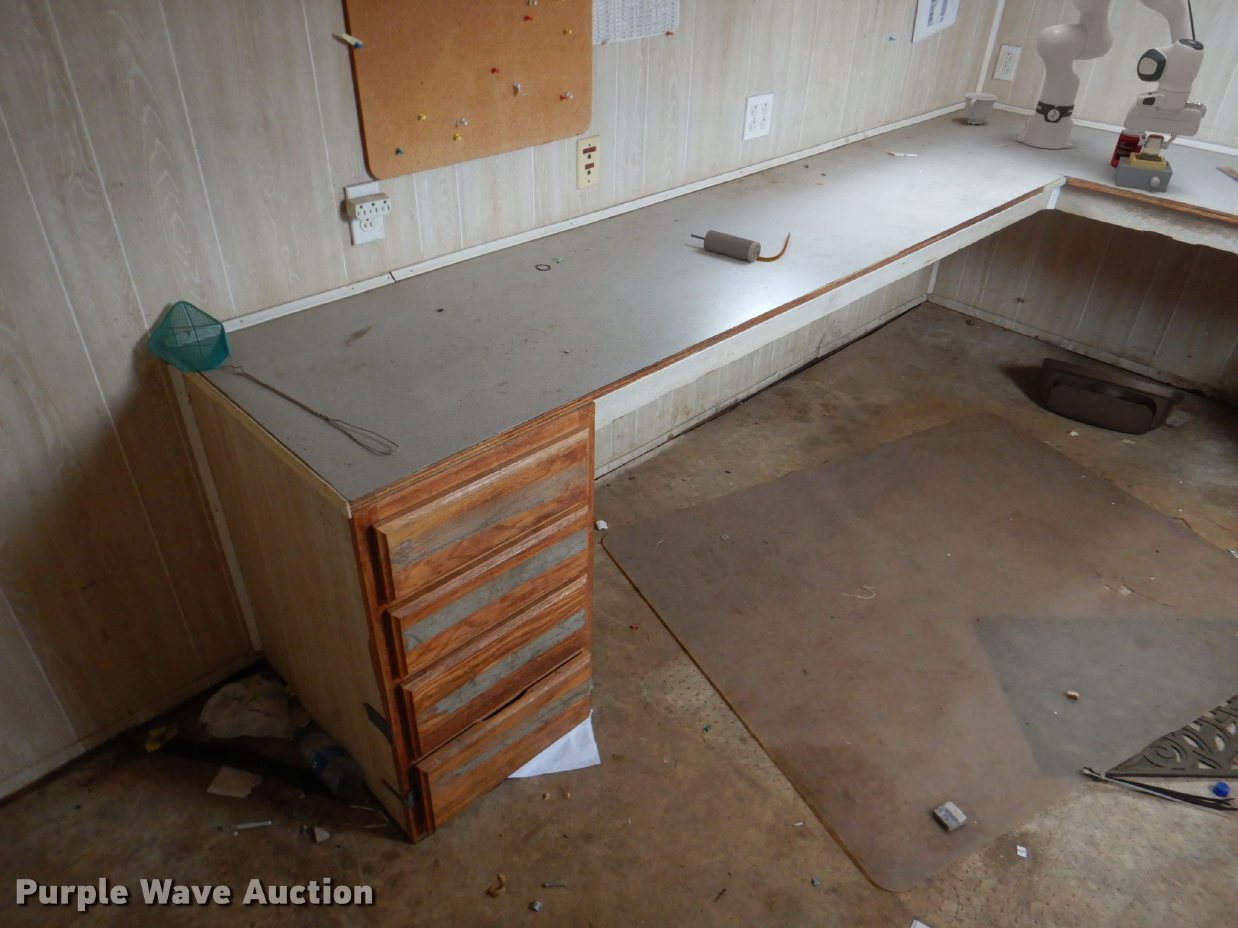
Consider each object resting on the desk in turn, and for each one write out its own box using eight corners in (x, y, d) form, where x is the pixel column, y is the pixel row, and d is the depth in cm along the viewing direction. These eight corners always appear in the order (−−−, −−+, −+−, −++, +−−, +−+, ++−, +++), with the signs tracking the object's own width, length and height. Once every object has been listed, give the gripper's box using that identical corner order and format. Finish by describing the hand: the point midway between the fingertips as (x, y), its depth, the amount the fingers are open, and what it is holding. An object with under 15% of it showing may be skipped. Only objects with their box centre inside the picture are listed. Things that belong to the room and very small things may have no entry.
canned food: (1129, 163, 292) (1141, 129, 286) (1138, 170, 285) (1151, 136, 279) (1106, 162, 292) (1117, 128, 286) (1114, 168, 286) (1126, 134, 280)
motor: (763, 268, 206) (767, 247, 204) (684, 246, 216) (688, 226, 214) (802, 255, 224) (806, 236, 222) (728, 236, 234) (731, 217, 232)
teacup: (950, 124, 330) (957, 96, 325) (965, 118, 340) (972, 91, 334) (981, 130, 324) (988, 102, 318) (995, 123, 334) (1002, 96, 328)
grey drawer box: (1114, 175, 279) (1123, 150, 275) (1161, 182, 275) (1171, 156, 270) (1116, 188, 268) (1125, 162, 263) (1166, 195, 263) (1176, 168, 259)
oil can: (1137, 160, 271) (1147, 133, 267) (1154, 162, 270) (1164, 135, 265) (1138, 164, 268) (1148, 136, 263) (1155, 166, 266) (1166, 138, 261)
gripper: (1207, 102, 257) (1188, 149, 265) (1132, 94, 264) (1116, 140, 272) (1210, 106, 252) (1191, 154, 260) (1134, 98, 259) (1117, 145, 267)
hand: (1152, 147), depth 266 cm, fingers open, 5 cm apart
